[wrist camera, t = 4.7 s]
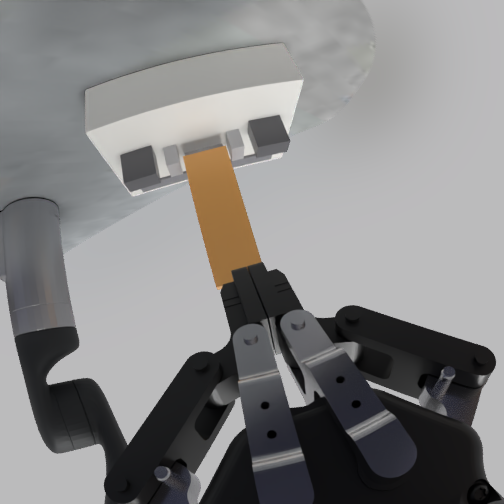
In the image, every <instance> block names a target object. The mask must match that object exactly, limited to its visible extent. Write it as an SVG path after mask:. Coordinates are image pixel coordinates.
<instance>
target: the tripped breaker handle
mask: <svg viewBox="0 0 504 504" xmlns="http://www.w3.org/2000/svg"><path fill="white" fill-rule="evenodd" d="M184 154H185V156H183V160H184V164H185V168H186V172H187V176H188V181H189V185H190V189H191V193H192V196H193V201H194V204H195V209H196V213H197V217H198V220H199V224H200V228H201V232H202V235H203V240H204V243H205V247H206V251H207V255H208V258H209V262H210V266H211V269H212V273H213V277H214V280H215V283H216V287H217V289H218V290H220V289H222V286H223V284H226V283H230V282H233V277H232V273H231V271H232V270H235V269H239V268H242V267H247V266H249V265H253V264H256V263H260V262H261V258H260V255H259V252H258V249H257V245H256V242H255V239H254V236H253V232H252V229H251V226H250V222H249V219H248V216H247V212H246V209H245V206H244V203H243V199H242V196H241V193H240V190H239V186H238V183H237V180H236V177H235V173H234V170H233V167H232V164H231V160H230V157H229V154H228V151H227V147H226V146H223V144H222V143H221V144H217V145H213V146H209V147H205V148H201V149H197V150H193V151H189V152H186V153H184ZM247 269H248V268H247Z"/></svg>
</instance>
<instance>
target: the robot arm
mask: <svg viewBox="0 0 504 504" xmlns="http://www.w3.org/2000/svg"><path fill="white" fill-rule="evenodd" d="M247 268H248V269H247ZM231 273H232V277H233V282H230V283H226V284H223V286H222V289H221V297H222V301H223V305H224V308H225V312H226V316H227V320H228V323H229V327H230V331H231V338H230V341H229V342H228V344H227V345H226V346H225V347H224V348H223V349H221V350H220V351H218V352H216V353H215V354H213V353H211V352H198V353H196V354H194V355H192V356H191V357H189V359H187V361H186V362H185V364H184V365H183V367H182V368H181V369H180V371H179V373H178V374H177V375H176V377H175V378H174V380H173V381H172V383H171V384H170V385H169V387H168V389H167V390H166V391H165V393H164V394H163V396H162V397H161V399H160V400H159V401H158V403H157V404H156V406H155V407H154V409H153V410H152V412H151V413H150V414H149V416H148V417H147V419H146V420H145V422H144V423H143V424H142V426H141V427H140V429H139V430H138V432H137V433H136V435H135V436H134V437H133V439H132V440H131V442H130V443H129V445H127V443H126V441H125V439H124V437H123V434H122V432H121V430H120V428H119V426H118V424H117V421H116V419H115V417H114V415H113V413H112V410H111V408H110V406H109V404H108V401H107V399H106V397H105V395H104V393H103V392H102V390H101V388H100V387H99V386H98V384H97V383H96V382H95V381H94V380H92V379H89V378H83V379H77V380H72V381H67V382H62V383H57V384H52V385H48V384H47V382H46V377H47V374H48V373H49V371H50V370H51V368H52V367H53V366H54V365H55V364H56V363H57V362H58V361H60V360H61V359H62V358H64V357H65V356H67V355H69V354H70V353H72V352H73V351H75V350H76V349H77V348H78V347H79V338H78V334H77V330H76V328H75V327H76V325H75V320H74V316H73V311H72V306H71V301H70V295H69V290H68V285H67V278H66V271H65V265H64V258H63V249H62V241H61V232H60V218H59V209H58V206H57V205H56V204H55V203H53V202H51V201H49V200H46V199H39V198H31V199H23V200H19V201H16V202H14V203H12V204H10V205H8V206H7V207H6V208H5V209H4V210H3V211H2V212H0V279H1V280H2V281H5V282H6V289H7V297H8V304H9V311H10V317H11V323H12V328H13V334H14V337H15V343H16V347H17V352H18V356H19V360H20V364H21V367H22V371H23V375H24V379H25V383H26V387H27V391H28V395H29V399H30V403H31V407H32V410H33V414H34V418H35V420H36V424H37V426H38V430H39V432H40V434H41V437H42V439H43V441H44V443H45V444H46V446H47V447H48V448H49V449H50V450H51V451H52V452H54V453H64V452H69V451H73V450H76V449H81V448H84V447H88V446H92V445H94V444H101V445H102V447H103V449H104V451H105V456H106V475H107V476H106V478H105V482H104V489H105V492H106V496H105V504H198V503H197V499H198V495H199V492H200V489H201V485H200V481H199V479H198V478H197V476H196V475H195V472H196V471H197V469H198V467H199V466H200V464H201V462H202V461H203V459H204V457H205V455H206V453H207V452H208V450H209V449H210V447H211V445H212V443H213V442H214V440H215V438H216V436H217V435H218V433H219V431H220V429H221V428H222V426H223V424H224V422H225V421H226V419H227V417H228V415H229V413H230V412H231V410H232V408H233V406H234V404H235V399H237V398H238V397H241V403H242V409H243V414H244V419H245V425H246V428H245V429H243V430H242V431H241V432H240V433H239V434H238V435H237V436H236V437H235V438H234V439H233V441H232V442H231V444H230V445H229V447H228V449H227V451H226V453H225V455H224V457H223V459H222V461H221V463H220V465H219V467H218V469H217V470H216V472H215V474H214V476H213V478H212V480H211V482H210V484H209V486H208V488H207V489H206V491H205V493H204V495H203V497H202V499H201V501H200V502H199V504H504V498H503V497H502V496H501V495H500V494H499V493H498V492H497V491H496V490H495V489H494V488H493V487H492V486H491V485H490V484H489V482H488V480H487V478H486V475H485V471H484V465H483V449H482V448H483V447H482V442H481V440H480V437H479V436H478V434H477V432H476V431H475V430H474V429H473V428H472V427H471V425H472V422H473V419H474V416H475V412H476V409H477V405H478V402H479V397H480V394H481V390H482V388H483V387H484V385H485V384H486V382H487V380H488V378H489V376H490V375H491V373H492V372H493V370H494V368H495V366H496V359H495V356H494V354H493V353H492V352H491V351H490V350H489V349H488V348H486V347H484V346H481V345H478V344H474V343H471V342H468V341H465V340H462V339H458V338H455V337H452V336H448V335H446V334H443V333H439V332H436V331H433V330H430V329H427V328H424V327H421V326H417V325H415V324H411V323H408V322H405V321H402V320H399V319H396V318H393V317H390V316H387V315H384V314H381V313H378V312H375V311H372V310H368V309H366V308H363V307H360V306H354V305H352V306H345V307H343V308H342V309H340V310H339V311H338V312H337V313H336V316H335V317H333V318H316V317H314V316H313V315H312V314H311V313H310V312H308V311H305V310H304V309H303V307H302V306H301V304H300V302H299V300H298V298H297V296H296V295H295V293H294V291H293V290H292V288H291V286H290V284H289V282H288V280H287V278H286V276H285V275H284V274H283V273H281V272H280V271H279V270H277V269H275V270H271V271H268V272H267V270H266V268H265V266H264V263H263V262H260V263H256V264H253V265H249V266H247V267H242V268H239V269H235V270H232V271H231ZM273 348H274V349H273ZM274 350H275V353H276V355H277V354H281V353H282V355H283V357H284V360H285V362H286V363H287V367H288V369H289V371H290V373H291V375H292V377H293V379H294V380H295V383H296V384H297V386H298V388H299V390H300V392H301V394H302V396H303V398H304V400H305V402H306V405H307V406H304V407H296V408H289V405H288V401H287V397H286V394H285V391H284V387H283V383H282V379H281V376H280V373H279V371H278V368H277V364H276V361H275V357H274ZM366 380H368V381H371V382H373V383H376V384H379V385H381V386H384V387H386V388H389V389H392V390H394V391H397V392H400V393H403V394H405V395H408V396H411V397H414V398H417V399H419V403H420V405H421V406H419V405H416V404H414V403H411V402H409V401H406V400H404V399H401V398H399V397H396V396H394V395H392V394H389V393H387V392H385V391H381V390H378V389H373V388H371V387H370V385H369V384H368V382H367V381H366Z"/></svg>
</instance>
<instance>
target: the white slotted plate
mask: <svg viewBox="0 0 504 504" xmlns="http://www.w3.org/2000/svg"><path fill="white" fill-rule="evenodd" d="M303 81H304V79H303V77H302V75H301V73H300V71H299V70H298V68H297V66H296V64H295V62H294V61H293V59H292V57H291V55H290V53H289V52H288V50H287V48H286V46H285V45H284V43H277V44H268V45H260V46H252V47H245V48H239V49H232V50H226V51H221V52H215V53H210V54H205V55H200V56H196V57H191V58H187V59H183V60H178V61H174V62H170V63H166V64H163V65H159V66H155V67H152V68H148V69H145V70H141V71H138V72H135V73H132V74H129V75H125V76H122V77H119V78H116V79H114V80H111V81H108V82H105V83H102V84H99V85H97V86H94V87H91V88H89V89H86V90H85V133H86V134H87V136H88V137H89V139H90V140H91V141H92V143H93V144H94V146H95V147H96V148H97V150H98V151H99V152H100V154H101V155H102V157H103V158H104V159H105V161H106V162H107V163H108V165H109V166H110V167H111V169H112V170H113V171H114V173H115V174H116V175H117V177H118V178H119V179H120V181H121V182H122V183H123V185H124V186H125V187H126V189H127V190H128V191H129V193H130V194H131V195H132V197H134V196H137V195H140V194H144V193H147V192H150V191H154V190H157V189H160V188H164V187H167V186H171V185H174V184H178V183H181V182H185V181H188V176H187V172H186V168H185V164H184V160H183V156H185V154H184V153H186V152H189V151H193V150H197V149H201V148H205V147H209V146H213V145H217V144H221V143H222V144H223V146H226V147H227V151H228V154H229V157H230V160H231V164H232V167H233V169H235V168H239V167H243V166H247V165H252V164H256V163H260V162H265V161H269V160H274V159H278V158H282V154H283V152H287V150H288V147H289V143H290V139H289V136H288V133H289V130H290V126H291V123H292V119H293V116H294V112H295V109H296V105H297V102H298V98H299V95H300V91H301V88H302V84H303Z"/></svg>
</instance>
